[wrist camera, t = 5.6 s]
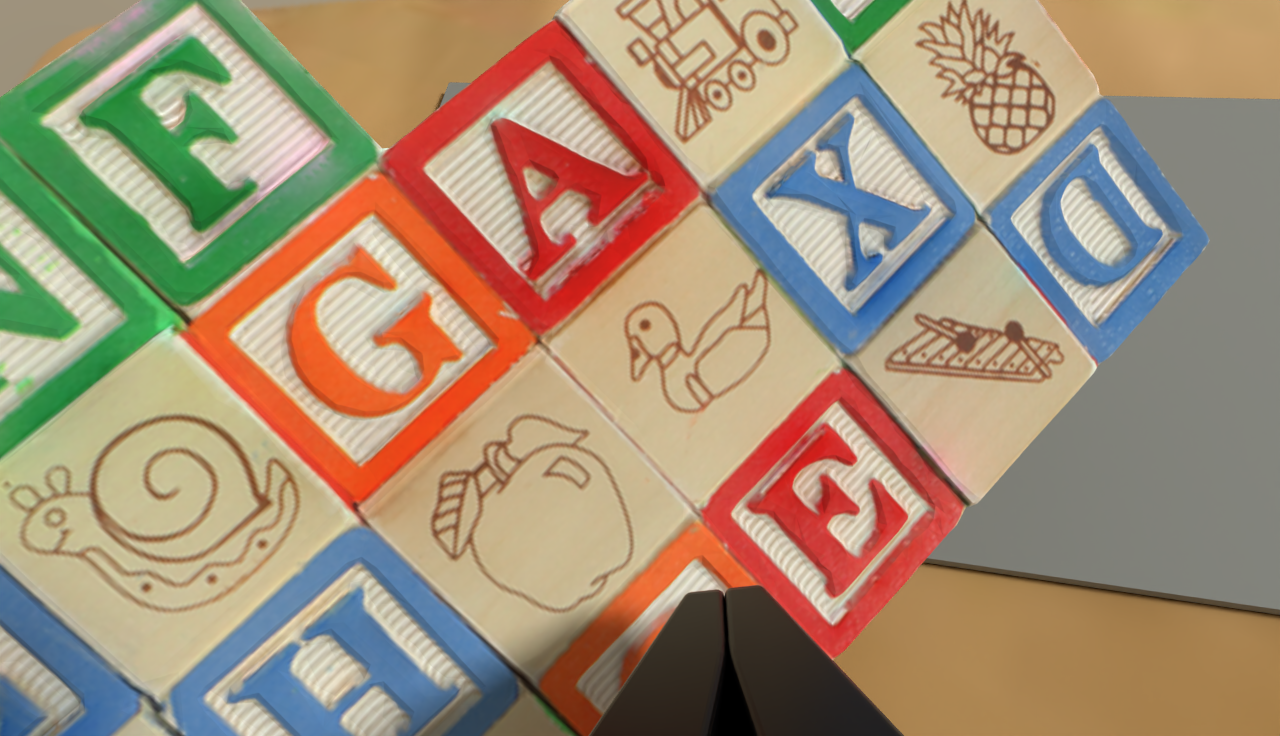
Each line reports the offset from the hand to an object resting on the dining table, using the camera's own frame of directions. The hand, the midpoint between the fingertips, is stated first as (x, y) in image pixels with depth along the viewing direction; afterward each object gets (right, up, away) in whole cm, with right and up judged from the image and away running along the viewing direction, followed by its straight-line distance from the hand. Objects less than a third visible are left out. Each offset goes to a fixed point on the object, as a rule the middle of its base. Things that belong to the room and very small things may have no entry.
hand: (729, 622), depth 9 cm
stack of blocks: (0, -3, +5) cm, 6 cm away
